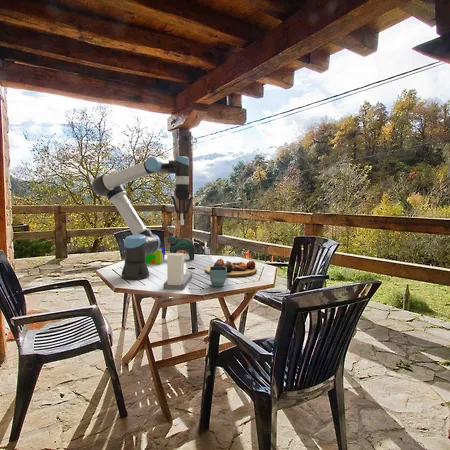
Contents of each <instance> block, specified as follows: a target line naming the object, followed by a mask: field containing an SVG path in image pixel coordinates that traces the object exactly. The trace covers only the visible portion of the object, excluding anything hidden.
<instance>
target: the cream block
mask: <svg viewBox="0 0 450 450" xmlns="http://www.w3.org/2000/svg"><path fill="white" fill-rule="evenodd" d="M184 255H185V254H184V253H180V252H179V253H177V252H176V253H170V252H169V253H168V254H167V256H166V257H167V259H166V262H167V263H166V265H167V269H166V271H167V275H166V276H167V278H166V280H167V285H182V283H183V282H184V275H185V274H184V273H185V271H184V268H185V267H184V263H185V262H184V261H185V259H184V257H185V256H184Z"/></svg>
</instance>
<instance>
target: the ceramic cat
mask: <svg viewBox="0 0 450 450" xmlns="http://www.w3.org/2000/svg"><path fill="white" fill-rule="evenodd" d="M178 233H179V234H181V232H180V231H177V233H176V235H171V234H169V235H168V238H167V244H169V254H170V253H177V252H179V251H185V252H187V254H188V258H189V260H190V261H193V260H194V259H195V255H196V251H195V249H196V248H195V245H194V241H193V239H192V238H191V237H188V236H183V237H178V235H177V234H178Z"/></svg>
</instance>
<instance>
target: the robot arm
mask: <svg viewBox="0 0 450 450" xmlns="http://www.w3.org/2000/svg"><path fill="white" fill-rule="evenodd" d="M155 173H157V174H161V175H168V174H175V183H176V184H175V192H174V194H173V195H171V196H170V198H171V199H172V203H173V206H174V211H175V213H177V214H178V219H179V220H180V221H179V222H180V224H179V226H185V220H186V218H187V217H186V214H188V213H189V212H190V210H191V205H192V201H193V199H194V196H192V194H191V193H190V158H189V157H188V156H181V155H180V156H176V157H175V159H174V160H170V159H169V160H167V159H163V158H159V157H156V156H148V158H146V159H145V161H142V162H139V163H137V164H134V165H132V166H129V167H127V168H123V169H121V170H118V171H116V172H112V173H110V174H108V173H105V174H101V175H99V176H97V177H95V178H94V179H93V180H92V184H91V188H92V191H93V192H94V193H95V194H96V195H97V196H100V197H106V198H107V199H108V201H109V203H111V204H113V205H114V206H115V207H116V210H117V211H118V213H119V214H120V216H121V218H122V219H123V220H124V222H125V224H126V226H127V227H128V228H129V230H130V232H131V233H132V234H131V235H128V236H126V237H125V238H124V241H123V248H124V265H123V268H122V271H121V279H124V280H128V281H130V280H132V281H133V280H134V281H135V280H143V279H147V278H149V277H150V271H149V268H148V264H146V255H149V254H153V253H154V252H156V251H157V250H158V249H159V247H160V246H161V239H160V237H159V236H158V235H156V234H155V233H153V232H152V231H151V229H150V228H147V227H146V226H145V224H144V222H143V221H142V219H141V217H140V216H139V214H138V213H137V211H136V210H135V208H134V206H133V205H132V203H131V201H130V200H129V199H128V196H127V194H128V192H127V189H126V188H127V186H126V184H127V183H130V182H133V181H135V180H136V181H137V180H138V179H142V178H143V177H147V176H149V175H153V174H155ZM176 199H177V200H178V203H177V200H176ZM187 199H188V203H187Z"/></svg>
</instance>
